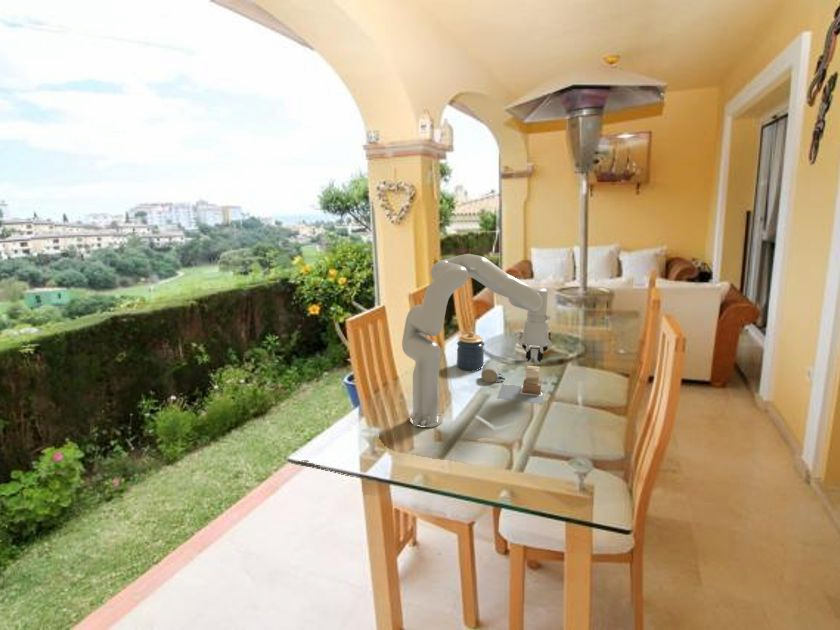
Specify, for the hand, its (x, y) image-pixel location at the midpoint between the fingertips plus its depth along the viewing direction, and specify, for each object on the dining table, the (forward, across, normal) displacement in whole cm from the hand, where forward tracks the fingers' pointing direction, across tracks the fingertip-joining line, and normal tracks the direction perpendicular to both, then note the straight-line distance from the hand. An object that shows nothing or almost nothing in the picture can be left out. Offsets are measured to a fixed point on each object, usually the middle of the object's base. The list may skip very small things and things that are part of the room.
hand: (534, 360), depth 201 cm
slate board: (+15, +4, +3) cm, 15 cm away
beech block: (+10, 0, 0) cm, 10 cm away
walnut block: (+14, 0, 0) cm, 14 cm away
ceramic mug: (+15, +18, -8) cm, 25 cm away
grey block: (0, 0, 0) cm, 0 cm away
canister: (+15, +31, -23) cm, 41 cm away
